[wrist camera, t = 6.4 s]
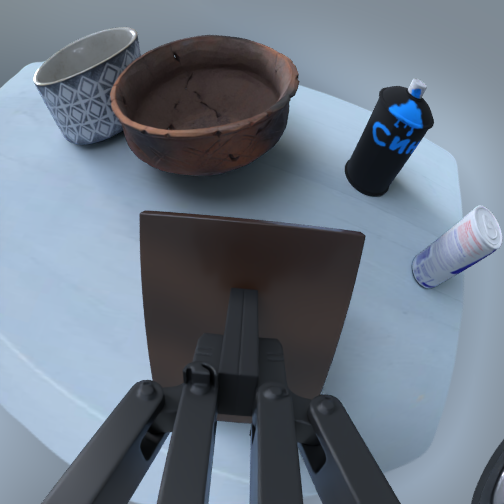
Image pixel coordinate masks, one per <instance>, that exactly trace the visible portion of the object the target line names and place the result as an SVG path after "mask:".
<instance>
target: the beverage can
mask: <svg viewBox="0 0 504 504" xmlns="http://www.w3.org/2000/svg"><path fill="white" fill-rule="evenodd" d="M501 245H502V232H501V229H500V226H499V224H498V222H497V220H496V218H495V216H494V215H493V214H492V213H491V211H490V210H488V209H487V208H486V207H484V206H477V207H476V208H475V209H474V210H472V211H471V212H470V213H469V214H467V215H466V216H465V217H464V218H463V219H462V220H460V221H459V222H458V223H457V224H456V225H454V226H453V227H452V228H451V229H450V230H448V231H447V232H446V233H445V234H443V235H442V236H441V237H440V238H439V239H437V240H436V241H435V242H433V243H432V244H431V245H430V246H428V247H427V248H426V249H424V250H423V251H422V252H421V253H419V254H418V255H417V256H416V257H415V258H414V260H413V264H412V269H413V274H414V276H415V278H416V280H417V281H418V283H419V284H420V285H422V286H423V287H425V288H434V287H435V286H437V285H439V284H441V283H443V282H444V281H446V280H448V279H450V278H452V277H453V276H455V275H457V274H459V273H460V272H462V271H464V270H465V269H467V268H469V267H471V266H472V265H474V264H475V263H477V262H479V261H480V260H482V259H484V258H485V257H487V256H488V255H490V254H491V253H493V252H494V251H496V249H498V248H500V247H501Z"/></svg>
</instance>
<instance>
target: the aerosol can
mask: <svg viewBox="0 0 504 504" xmlns="http://www.w3.org/2000/svg"><path fill="white" fill-rule="evenodd" d="M426 88H427V86H426V84H425V83H424V82H422V81H421V80H418V79H416V78H415V79H413V81H412V83H411V85H410V87H409V89H408V88H405V87H401V86H393V87H387V88H383V89H382V90H381V91H380V93H379V100H378V102H377V104H376V106H375V108H374V110H373V112H372V115H371V117H370V119H369V121H368V123H367V125H366V127H365V129H364V132H363V134H362V136H361V138H360V140H359V142H358V144H357V146H356V148H355V150H354V152H353V154H352V156H351V158H350V160H348V162H347V163H346V165H345V174H346V177H347V179H348V180H349V182H350V183H351V184H352V186H353V187H355V188H356V189H357V190H358V191H360V192H362V193H364V194H366V195H369V196H381V195H383V194H385V193H386V192H387V191H388V189H389V185H390V184H391V183H392V181H393V180H394V178H395V177H396V176H397V174H398V173H399V171H400V170H401V169H402V167H403V166H404V164H405V163H406V162H407V160H408V159H409V157H410V156H411V154H412V153H413V151H414V150H415V149H416V147H417V146H418V144H419V143H420V141H421V140H422V138H423V137H424V135H425V134H426V132H427V130H428V129H430V128H432V126H433V124H434V119H433V116H432V113H431V110H430V108H429V106H428V104H427V103H426V101H425V100H424V99H423V98H422V96H423V94H424V92H425V90H426Z"/></svg>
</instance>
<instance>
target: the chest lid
mask: <svg viewBox="0 0 504 504" xmlns="http://www.w3.org/2000/svg"><path fill="white" fill-rule="evenodd" d="M364 241H365V235H364V234H363V233H361V232H357V231H350V230H342V229H334V228H326V227H317V226H309V225H300V224H291V223H282V222H273V221H263V220H253V219H243V218H233V217H222V216H210V215H199V214H186V213H173V212H160V211H143V212H141V213H140V260H141V280H142V295H143V307H144V318H145V328H146V336H147V345H148V352H149V360H150V366H151V373H152V379H153V381H155V382H157V383H159V384H160V385H161V386H162V388H164V387H174V386H178V385H180V384H182V383H184V381H183V369H184V367H185V366H186V365H188V364H189V363H191V362H193V358H194V354H195V350H196V346H197V342H198V339H199V338H200V337H201V336H202V335H203V334H204V333H211V334H220V335H224V331H225V324H226V317H227V310H228V304H229V297H230V291H231V288H241V289H251V290H258V326H259V337H260V338H275V339H278V340H279V341H280V343H281V344H282V346H283V355H284V362H285V371H286V379H287V385H288V387H289V389H290V390H291V391H292V392H293V393H294V394H296V395H298V396H300V397H304V398H307V399H311V400H312V399H313V398H314V397H316V396H318V395H320V393H321V391H322V388H323V385H324V383H325V380H326V377H327V374H328V371H329V368H330V366H331V363H332V360H333V357H334V354H335V351H336V347H337V344H338V341H339V338H340V335H341V331H342V328H343V325H344V321H345V318H346V314H347V311H348V307H349V304H350V300H351V296H352V292H353V288H354V284H355V280H356V276H357V272H358V268H359V264H360V259H361V255H362V250H363V246H364ZM217 421H225V422H236V423H249V424H252V417H250V416H236V415H225V414H217Z"/></svg>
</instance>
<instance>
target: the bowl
mask: <svg viewBox="0 0 504 504" xmlns="http://www.w3.org/2000/svg"><path fill="white" fill-rule="evenodd" d="M174 55H175V57H176V58H175V57H174ZM298 75H299V74H298V71H297V68H296V66H295V65H294V64H293V62H292V61H291V60H290V59H289V58H288V57H286V56H285V55H283V54H281V53H279V52H277V51H275V50H274V49H272V48H270V47H267V46H265V45H263V44H260V43H257V42H254V41H251V40H247V39H243V38H237V37H230V36H219V35H205V36H196V37H190V38H185V39H180V40H176V41H173V42H170V43H167V44H164V45H161V46H159V47H157V48H155V49H153V50H150V51H148V52H146V53H145V54H143V55H142V56H140V57H138V58H136V59H135V60H134V61H133V62H132V63H131V64H129V65H128V66H127V67H126V69H125V70H124V71H123V72H122V73H121V74H120V75H119V77H118V78H117V79H116V81H115V83H114V85H113V87H112V89H111V93H110V98H111V107H112V110H113V112H114V114H115V115H116V117H117V118H118V119H119V121H120V123H121V124H122V127H123V131H124V135H125V138H126V140H127V143H128V146H129V147H130V149H131V150H132V151H133V152H134V154H135V155H136V156H137V157H138V158H139V159H141V160H142V161H144V162H146V163H147V164H149V165H150V166H152V167H154V168H157V169H159V170H162V171H166V172H170V173H175V174H182V175H193V176H210V175H217V174H222V173H225V172H228V171H231V170H234V169H237V168H240V167H243V166H246V165H247V164H249V163H251V162H253V161H254V160H256V159H257V158H258V157H260V156H261V155H263V154H264V153H265V152H267V151H268V150H269V149H271V148H272V147H273V146H274V145H275V144H276V143H277V142H278V141H279V139H280V137H281V136H282V134H283V132H284V130H285V128H286V125H287V120H288V114H289V101H290V100H291V99H290V98H292V97H293V96H295V94H296V91H297V89H298V85H299V81H298ZM168 128H169V129H168Z"/></svg>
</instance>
